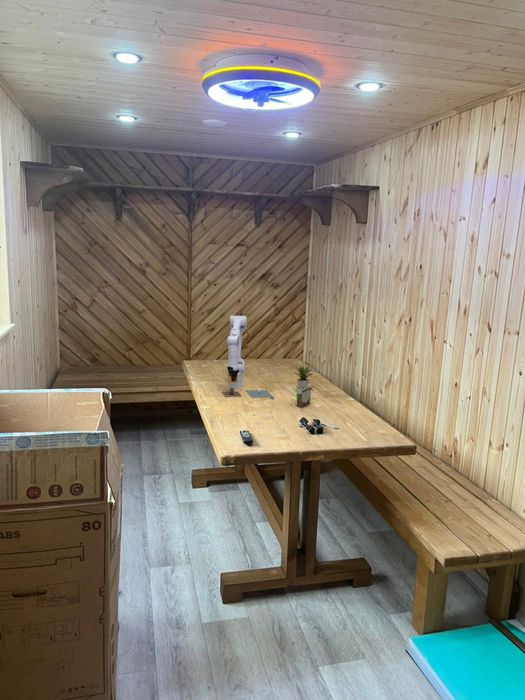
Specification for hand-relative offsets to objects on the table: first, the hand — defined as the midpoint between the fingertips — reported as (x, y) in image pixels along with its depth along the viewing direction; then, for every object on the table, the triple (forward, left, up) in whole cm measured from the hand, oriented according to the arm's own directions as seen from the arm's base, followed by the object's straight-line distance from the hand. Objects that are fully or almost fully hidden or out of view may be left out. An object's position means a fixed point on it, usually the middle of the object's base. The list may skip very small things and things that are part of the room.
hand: (232, 380), depth 308 cm
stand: (0, 0, -9) cm, 9 cm away
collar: (0, 0, -1) cm, 1 cm away
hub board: (0, +16, -9) cm, 18 cm away
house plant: (-11, +46, -10) cm, 48 cm away
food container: (+23, +34, -10) cm, 42 cm away
